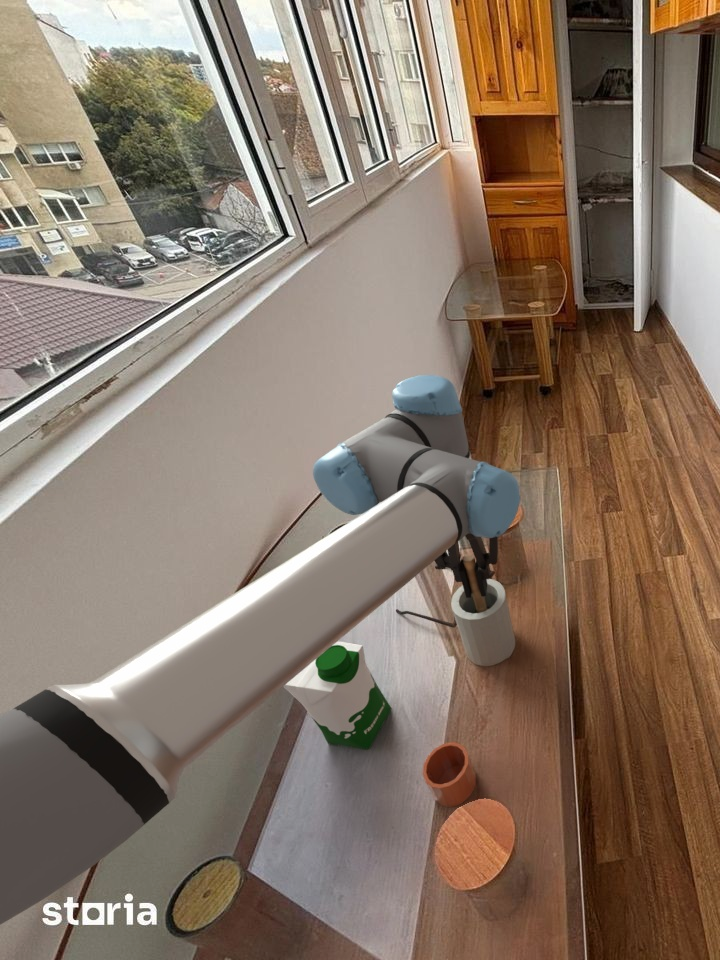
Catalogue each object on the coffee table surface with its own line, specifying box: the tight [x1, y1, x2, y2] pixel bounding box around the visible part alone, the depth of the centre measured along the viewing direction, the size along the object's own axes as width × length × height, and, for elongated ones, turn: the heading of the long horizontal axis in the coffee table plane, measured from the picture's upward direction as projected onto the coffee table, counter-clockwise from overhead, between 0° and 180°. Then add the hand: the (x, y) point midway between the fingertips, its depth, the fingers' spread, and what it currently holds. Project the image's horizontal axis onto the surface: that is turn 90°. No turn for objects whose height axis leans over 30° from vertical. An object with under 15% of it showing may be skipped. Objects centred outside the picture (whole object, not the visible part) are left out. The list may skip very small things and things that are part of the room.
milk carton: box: [282, 640, 392, 751], centre depth 78 cm, size 9×9×20 cm
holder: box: [422, 741, 477, 808], centre depth 75 cm, size 6×6×7 cm
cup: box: [450, 578, 516, 667], centre depth 92 cm, size 9×9×14 cm
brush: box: [462, 553, 490, 613], centre depth 88 cm, size 3×3×20 cm
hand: (477, 590), depth 87 cm, fingers closed on brush, 2 cm apart
